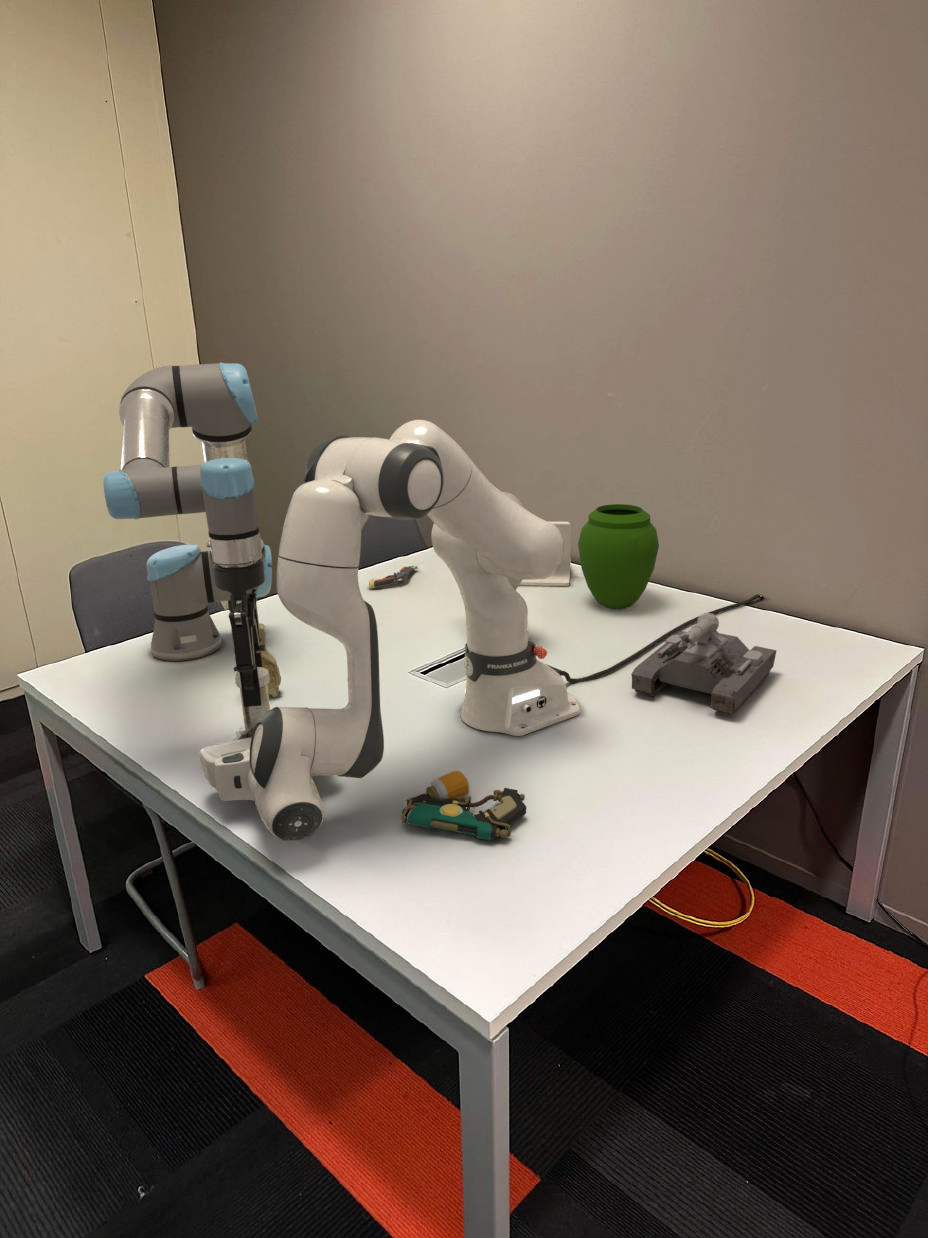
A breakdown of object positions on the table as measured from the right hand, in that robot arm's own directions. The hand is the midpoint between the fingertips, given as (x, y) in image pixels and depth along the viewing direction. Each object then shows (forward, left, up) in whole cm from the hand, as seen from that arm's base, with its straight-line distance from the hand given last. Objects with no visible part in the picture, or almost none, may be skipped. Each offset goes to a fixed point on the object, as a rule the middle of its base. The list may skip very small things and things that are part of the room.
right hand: (258, 731), depth 143 cm
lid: (0, +1, +11) cm, 11 cm away
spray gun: (-25, +30, -6) cm, 39 cm away
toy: (-86, +7, -6) cm, 87 cm away
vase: (-96, -40, -6) cm, 104 cm away
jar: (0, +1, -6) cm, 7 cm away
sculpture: (-5, -27, -6) cm, 29 cm away
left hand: (0, +1, +7) cm, 7 cm away
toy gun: (-53, -86, -6) cm, 101 cm away
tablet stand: (-87, -73, -6) cm, 114 cm away
